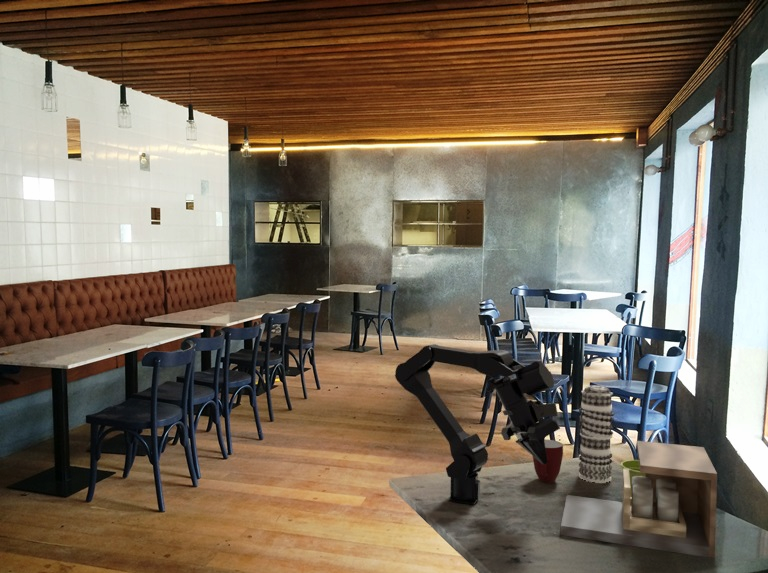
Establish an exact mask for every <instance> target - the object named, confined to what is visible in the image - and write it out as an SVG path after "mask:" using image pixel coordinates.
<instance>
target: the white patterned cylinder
mask: <svg viewBox="0 0 768 573" xmlns="http://www.w3.org/2000/svg"><path fill="white" fill-rule="evenodd" d="M581 393H582V394H581V397H582V398H581V405H580V407H579V409H578V413H579V414H580V416H579V417H578V418H579V423H578V426H580V428H579V435H580V436H581V437H580V438H581V443H580V449H579V452H578V453H579V457H578V460H579V463H578V467H579V468H578V473H579V474H578V477H579V478H580V479H581V480H582V479H583V481H584V480H586V481H585V482H588V481H590V482H589V483H592V482H595V483H594V484H607V483H606V482H608V483H609V481H610V482H612V474H613V472H612V470H613V469H612V468H613V466H612V465H611V464H612V463H613V460H612V459H611V458H613V453H612V447H611V439H613V435H614V432H613V431H612V430H613V429H614V426H613V425H612V424H611V423H613V422H614V421H615V420H614V418H613V416H615V413H614V412H613V411H612V410H613V404H612V395H613V394H614V393H613V392H611V390H610V389H609V388H608V387H606V386H604V385H597V384H596V385H595V384H593V385H592V384H591V385H587V386H585V387H584V389H583V390H581Z"/></svg>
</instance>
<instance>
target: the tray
mask: <svg viewBox="0 0 768 573" xmlns="http://www.w3.org/2000/svg"><path fill="white" fill-rule="evenodd" d="M630 490H631V487H630V477H629V469H624V468H622V501H621V502H622V509H623V528H624V529H627V530H634V531H641V532H648V533H655V534H662V535H669V536H676V537H683V538H686V523H685V520H684V516H683V513H682V510H681V506H680V503H678V501H679V491H678V490H676V482H674V481H672V480H669V479H657V480H656V500H653V488H652V487H651V479H650V478H647V477H643V476H634V477H632V497H630Z"/></svg>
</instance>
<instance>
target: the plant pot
mask: <svg viewBox="0 0 768 573" xmlns="http://www.w3.org/2000/svg"><path fill="white" fill-rule="evenodd" d="M620 467H621V468H622V469H623V468H624V469H629V477H630V487H631V490H630V497H632V477H634V476H643V477H645V473H641V472H640V466H639V459H628V460H624V461H621V463H620Z"/></svg>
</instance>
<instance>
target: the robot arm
mask: <svg viewBox="0 0 768 573" xmlns="http://www.w3.org/2000/svg"><path fill="white" fill-rule="evenodd" d="M436 363H441V364H447V365H454V366H459V367H465V368H470V369H473V370H474V371H476V372H478V373H480V374H482V375H485V376H487V377H491V378H490V379H489V380H488V383H487V384H488V385H487V386H486V389H485V391H486V392H487V393H488V392H491V391H493V390H495V392H496V394H497V396H498V398H499V400H500V402H501V404H502V406H503V408H504V410H503V411H502V413H503V415H504V416H507V417H508V419H509V421H510V422H511V423H509V424H507V425H506V426H503V427H502V428H501V432H500V434H501V436H502V438H503V441H510V440H512V439H511V437H513V436H516V438H517V440H515V441H514V442H515V443H516V444H518V445H519V446H520V447H521V448H523V449H524V450H525V451H527V453H529V454H530V455H532V458H533V457H535V458H536V459H537V460H538V461H539V462H540V463H542V464H546V463H547V462H548V461H547V455H546V449H545V441H544V439H545V440H546V437H549V435H551V434H553V433H555V432H556V431H559V430H560V429H561V426H560V425H559V422H558V421H557V419H554V418H556V417H558V416H559V415H558V409H557V404H556V402H551V403H543V402H542V401H541V400H533V399H528V397H527V396H529V397H531V396H535V395H536V394H540V393H542V392H545V391H547V390H550V389H552V388H554V385H555V381H554V377H553V375H552V372H551V371H549V369H548V367H547V366H546V365H545V364H544V363H543V362H542V360H541V359H539V360H535V361H533V362H532V363H530V364H527V365H526V366H525V365H523V364H522V363H520V362H519V361H518V360H516V359H514V357H513V356H512V355H511V353H510V351H508V350H504V349H501V350H500V349H496V350H493V349H492V350H484V351H481V350H479V351H478V350H477V351H476V350H469V349H462V348H456V347H449V346H442V345H438V344H436V343H435V344H429V345H424V346H423V347H422V348H421V349H420V350H418V352H417V353H415V354H414V355H413V356H411V357H410V358H408V359H407V360H405V361H404V362H401V363H400V364H399V363H398V365H397V366H396V368H395V372H394V373H395V374H394V377H395V380H396V381H397V382H398V384H400V386H401V387H402V388H404V390H405V391H407V392H408V393H410V394H412V395H413V396H415V398H417V400H419V402H420V404H421V405H422V407H423V408H424V409H425V411H426V413H427V415H429V416H430V418H431V420H432V421H433V423H434V424H435V426H437V428H438V429H439V430H440V432H441V434H442V435H443V437H444V438H445V439H446V441H447V442H448V444H449V450H450V456H451V458H452V460H453V461H451V463H450V464H449V465H447V466H446V467H445V471H446V475H447V477H448V478H450V494H449V495H450V496H449V497H448V502H451V503H452V502H453V503H460V504H467V505H475V504H476V502H477V501H478V500H479V499H480V497H481V480H480V479H479V473H480V472H481V471H482V469H483V467H484V466H485V465H486V464H487V462H488V459H489V458H488V457H489V453H488V450H487V445H486V444H485V443H483V441H482V439H481V438H480V437H479V435H478V434H477V433H473V434H471V435H470V434H469V433H467V432H466V431H465V430H464V428H463V427H462V426H461V425H460V423H459V422H458V421H457V419H456V417H455V416H454V415H453V413H452V412H451V411H450V409H449V407H448V406H447V405H446V403H445V402H444V401H443V399H442V398H441V397H440V395H439V394H438V392H437V391H436V389H435V388H434V387H433V385H432V377H431V374H430V372H429V370H430V369H432V368H433V367H434V365H435V364H436ZM514 375H515V376H514ZM500 376H501V378H498V379H496V378H497V377H500ZM512 376H513V377H512ZM526 395H527V396H526ZM551 417H553V418H551Z"/></svg>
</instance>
